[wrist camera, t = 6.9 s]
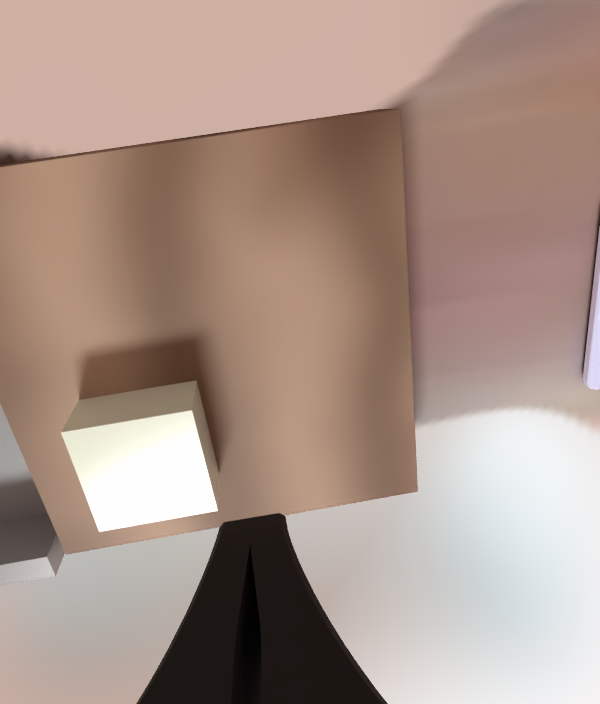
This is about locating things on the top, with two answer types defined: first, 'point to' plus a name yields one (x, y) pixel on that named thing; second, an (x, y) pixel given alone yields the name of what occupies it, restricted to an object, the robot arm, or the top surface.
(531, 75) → the top surface
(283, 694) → the robot arm
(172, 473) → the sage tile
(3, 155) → the top surface
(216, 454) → the plate
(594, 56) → the top surface
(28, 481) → the tray
